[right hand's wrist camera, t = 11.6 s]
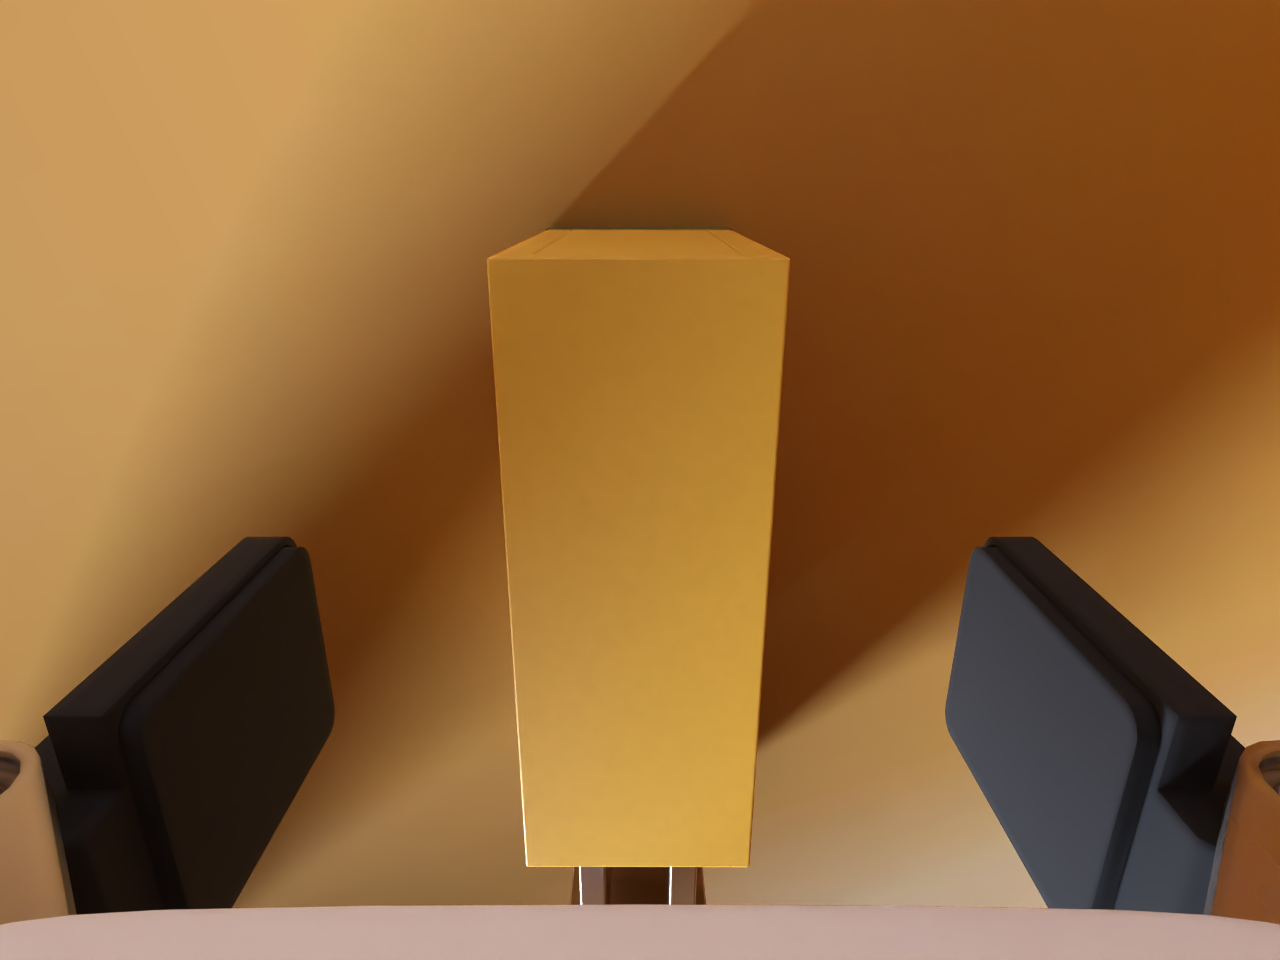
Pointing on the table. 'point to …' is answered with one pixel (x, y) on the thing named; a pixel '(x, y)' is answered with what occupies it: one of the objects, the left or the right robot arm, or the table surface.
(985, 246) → the table surface
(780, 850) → the table surface
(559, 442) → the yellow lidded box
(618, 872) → the drawer
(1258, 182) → the table surface
